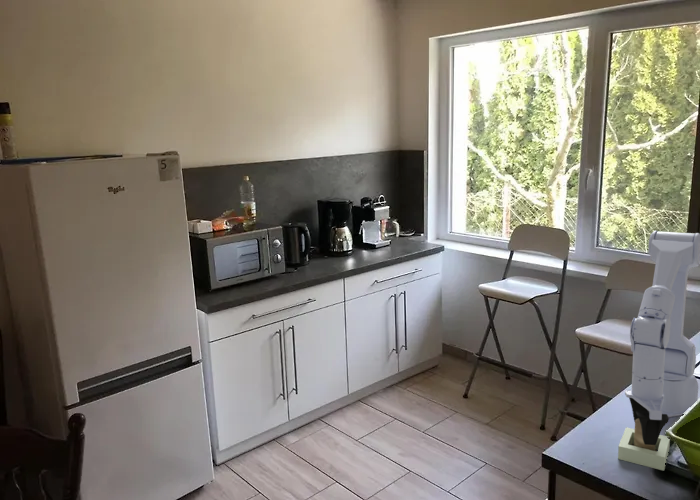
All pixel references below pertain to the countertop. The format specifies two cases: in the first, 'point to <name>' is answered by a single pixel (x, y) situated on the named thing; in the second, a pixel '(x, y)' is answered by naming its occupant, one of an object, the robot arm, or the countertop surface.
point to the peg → (640, 437)
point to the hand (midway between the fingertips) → (644, 433)
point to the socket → (643, 451)
